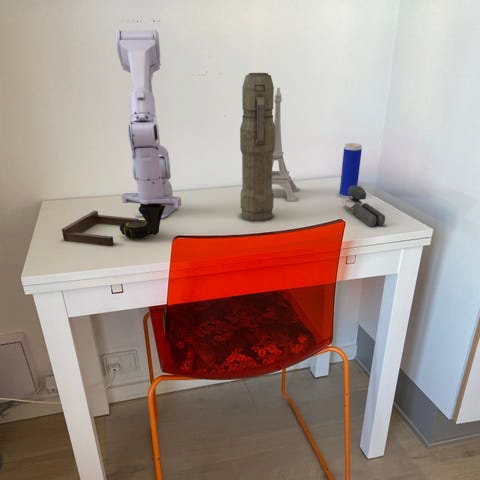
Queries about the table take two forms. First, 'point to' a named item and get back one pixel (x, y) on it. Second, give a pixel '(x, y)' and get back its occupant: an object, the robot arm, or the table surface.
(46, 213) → the table surface
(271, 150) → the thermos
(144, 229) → the tape measure
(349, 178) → the beverage can
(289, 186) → the eiffel tower
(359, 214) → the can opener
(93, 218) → the walnut frame
